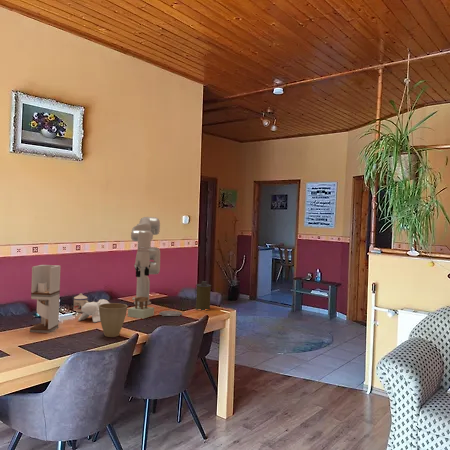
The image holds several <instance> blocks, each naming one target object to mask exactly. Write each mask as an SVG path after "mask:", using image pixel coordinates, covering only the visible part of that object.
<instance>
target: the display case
mask: <svg viewBox="0 0 450 450" xmlns="http://www.w3.org/2000/svg"><path fill="white" fill-rule="evenodd" d="M61 266H62V265H58V264H57V265H52V264H39V265H34V266H31V286H30V287H31V288H30V289H31V292H30V299H31V300H36V313H37V314H38V316H39V317H41V319H40V323H38V324H35V325H33V326H31V327H30V328H29V332H30V333H43V334H45V333H46V334H50V333H52V332H54V331H55V330H57V329H59V323H60V322H59V321H60V320H59V319H60V294H61V293H60V292H61V291H60V290H61V269H62V268H61Z"/></svg>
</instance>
